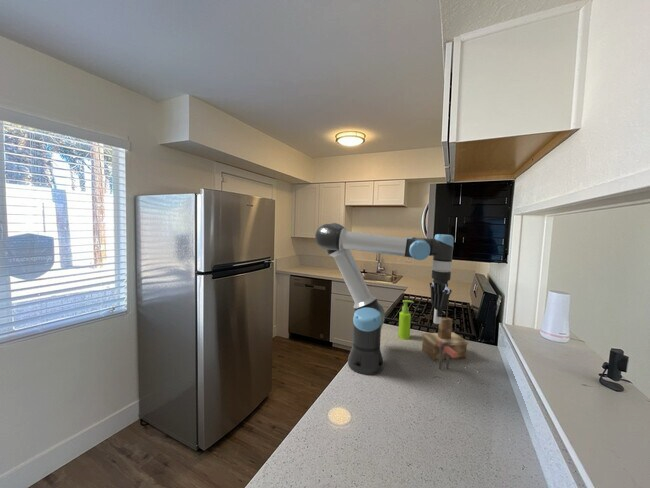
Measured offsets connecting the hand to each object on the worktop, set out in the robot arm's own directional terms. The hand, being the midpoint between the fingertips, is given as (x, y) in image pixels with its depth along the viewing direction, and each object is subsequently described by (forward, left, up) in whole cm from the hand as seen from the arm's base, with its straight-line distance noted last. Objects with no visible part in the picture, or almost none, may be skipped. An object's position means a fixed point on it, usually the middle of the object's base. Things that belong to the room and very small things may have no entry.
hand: (437, 323), depth 120 cm
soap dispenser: (-2, +25, -18) cm, 31 cm away
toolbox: (+7, +2, -18) cm, 19 cm away
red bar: (0, -7, -9) cm, 12 cm away
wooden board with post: (+8, +5, -11) cm, 14 cm away
